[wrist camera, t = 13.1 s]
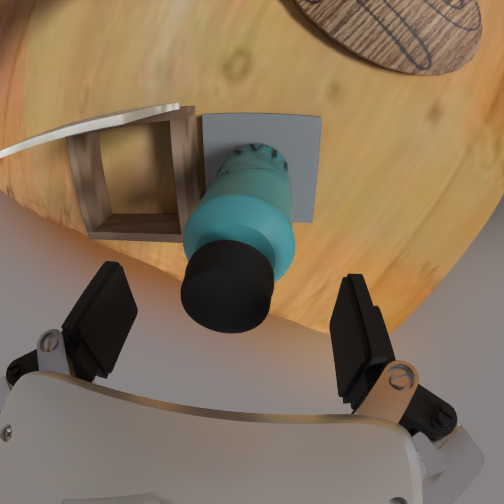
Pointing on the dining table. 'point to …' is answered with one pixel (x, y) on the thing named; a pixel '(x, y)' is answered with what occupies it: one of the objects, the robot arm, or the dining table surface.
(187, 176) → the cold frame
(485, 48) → the dining table surface
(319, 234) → the dining table surface
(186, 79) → the dining table surface
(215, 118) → the slate mat
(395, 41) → the trivet
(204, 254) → the beverage bottle
